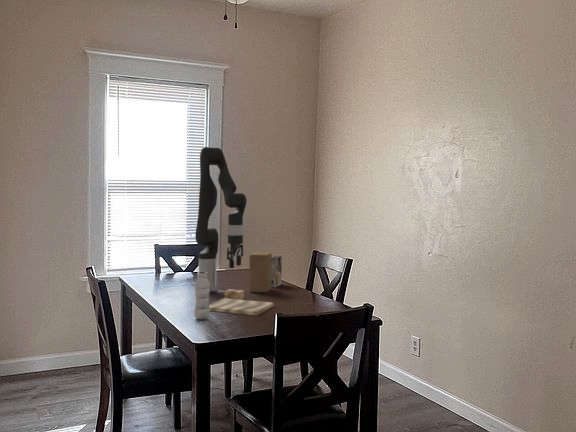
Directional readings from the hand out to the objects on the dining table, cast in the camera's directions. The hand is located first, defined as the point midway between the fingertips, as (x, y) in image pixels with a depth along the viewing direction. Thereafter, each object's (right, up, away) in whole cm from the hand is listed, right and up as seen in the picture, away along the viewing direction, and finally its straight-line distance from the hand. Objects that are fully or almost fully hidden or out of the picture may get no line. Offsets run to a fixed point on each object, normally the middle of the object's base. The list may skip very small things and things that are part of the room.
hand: (235, 266), depth 287 cm
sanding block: (-1, -16, +1) cm, 16 cm away
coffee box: (+18, -14, +37) cm, 43 cm away
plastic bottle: (-10, -19, -39) cm, 45 cm away
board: (+4, -18, -17) cm, 25 cm away
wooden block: (+11, -15, +22) cm, 29 cm away
